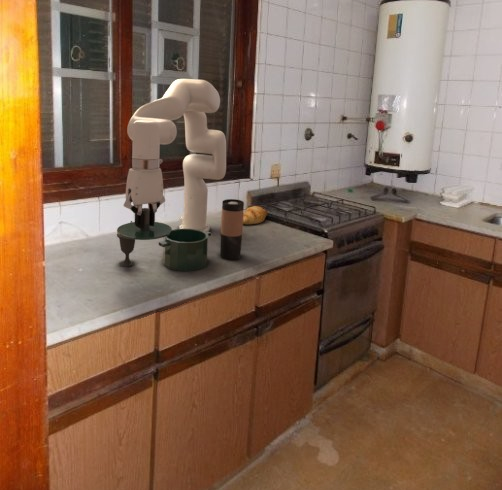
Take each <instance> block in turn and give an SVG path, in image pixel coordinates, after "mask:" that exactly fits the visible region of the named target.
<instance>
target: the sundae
mask: <svg viewBox="0 0 502 490" xmlns="http://www.w3.org/2000/svg"><path fill="white" fill-rule="evenodd" d="M131 222H133V221H132V220H130V222H129V223H131ZM116 237H117V238H118V239H119V248H120V251H121V253H123V254H124V256H125V257H124V260H122V261H120V262H119V264H118V265H120V266H121V267H125V268H127V267H133V266H134V265H135V264H136V262H135V261H134V260H131V258H130V254H131V253H133V251H134V250H135V245H136V240H134V239H128V238H124V237H122V236H120V235H118V233H117V232H116Z"/></svg>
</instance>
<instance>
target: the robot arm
mask: <svg viewBox="0 0 502 490" xmlns="http://www.w3.org/2000/svg"><path fill="white" fill-rule="evenodd" d="M220 106H221V98H220V94H219V91H218V90H217V89H216V88H215V86H214V85H213V84H212V83H211V82H209V81H208V80H206V79H196V78H178V79H175V80H174V81H173V82H172V83H171V84H170V85H169V87H168V88H167V90H166V91H165V92H164V94H163V95H162V97H161V98H158V99H155V100H153V101H150V102H147V103H145V104H144V105H142V106H140V107H138V108H137V109H136V111H135V112H134V113H133V115H132V116H131V118H130V119H129V121H128V124H127V129H126V131H127V136H128V138H129V139H130V141H132V148H131V149H132V152H131V153H132V154H131V155H132V156H131V158H132V159H131V161H132V162H131V163H132V164H131V167H132V168H129V169H128V172H127V176H126V177H127V178H126V184H125V185H126V186H125V201H124V203H123V207H124V208H126V209H129V210H130V211H131V212H132V213H133V214H134V222H135V226H136V227H138V228H140V229H141V228H143V215H142V214H141V213H142V208H143V205H147V208H149V209H150V226H154V222H156V213H157V212H158V209H159V208H160V206H161V205H163V204H164V203H165V202H166V198H165V196H164V179H163V172H162V168H161V167H160V165H161V164H163V163H164V161H163V159H162V158H160V151H161V150H160V149H161V146H160V145H164V146H165V145H169V144H172V143H173V142H174V141H175V139H176V138H177V135H178V130H177V126H176V124H175V123H174V121H176V120H178V119H180V118H182V116H183V120H184V132H185V133H184V134H185V135H184V136H185V147H186V149H187V151H189V152H191V154H188V155H186V156H185V157H184V159H183V160H182V171H183V179H184V181H183V182H184V188H183V189H184V191H183V215H182V216H181V217H179V221H181V224H180V225H178V226H179V227H178V229H184V228H186V229H196V230H201V231H203V232H206V231H208V232H210V229H211V227H210V225H208V224H207V215H208V194H209V193H208V192H209V189H208V185H207V184H206V182H205V180H204V179H206V180H215V181H217V180H218V181H219V180H222V179H224V177H225V176H226V173H227V140H226V139H227V138H226V135H225V133H224V132H223V131H222V130H219V129H209V128H208V118H207V115H206V113H207V114H214V113H216V112H217V111H218V110H219V108H220ZM194 153H195V154H194Z"/></svg>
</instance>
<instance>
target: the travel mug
mask: <svg viewBox="0 0 502 490" xmlns="http://www.w3.org/2000/svg"><path fill="white" fill-rule="evenodd" d="M221 204H222V205H221V220H220V246H219V248H220V249H219V251H220V253H219V255H220V258H222V259H223V260H228V261H236V260H238V259H240V257H241V251H242V242H243V231H244V229H243V228H244V224H243V215H244V212H245V210H244V208H245V202H244V200H240V199H235V198H233V199H232V198H229V199H228V198H227V199H224V200H222V201H221Z"/></svg>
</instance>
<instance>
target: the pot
mask: <svg viewBox="0 0 502 490" xmlns="http://www.w3.org/2000/svg"><path fill="white" fill-rule="evenodd" d="M211 236H212V232H210V231H206V232H203V231H201V230H196V229H186V228H184V229H179V228H175V229H172V232H171V234H169V235H168V236H166V237H163V239H162V240H163V241H159V242H158V247H161V248H162V263H163V265H164V266H165V267H166V268H168V269H170V270H174V271H179V272H191V271H196V270H200V269H203V268H205V267H206V266H207V264H208V257H209V256H208V254H209V237H211Z"/></svg>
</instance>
